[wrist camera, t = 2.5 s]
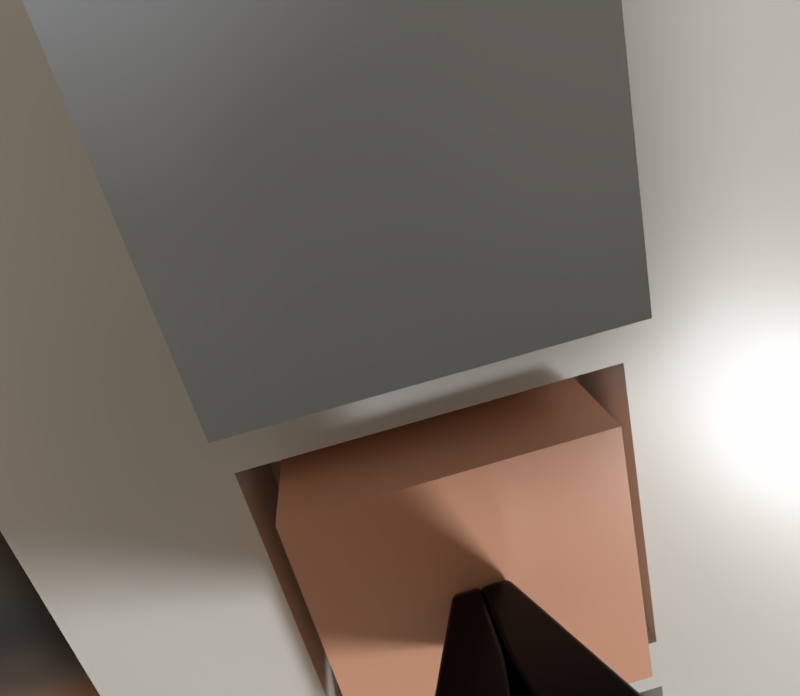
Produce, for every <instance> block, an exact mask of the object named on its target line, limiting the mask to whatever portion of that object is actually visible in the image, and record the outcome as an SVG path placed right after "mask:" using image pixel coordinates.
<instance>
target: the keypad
mask: <svg viewBox="0 0 800 696" xmlns="http://www.w3.org/2000/svg"><path fill="white" fill-rule="evenodd" d="M622 11H623V21H624V32H625V42H626V52H627V63H628V73H629V83H630V94H631V104H632V114H633V125H634V135H635V146H636V156H637V166H638V177H639V187H640V197H641V208H642V218H643V229H644V239H645V249H646V260H647V270H648V280H649V291H650V301H651V312H652V318H651V319H647V320H644V321H640V322H636V323H633V324H629V325H626V326H622V327H619V328H615V329H612V330H608V331H605V332H601V333H597V334H594V335H590V336H587V337H583V338H580V339H576V340H573V341H569V342H566V343H562V344H558V345H555V346H551V347H548V348H544V349H541V350H537V351H534V352H530V353H527V354H523V355H519V356H516V357H512V358H509V359H505V360H502V361H498V362H495V363H491V364H488V365H484V366H480V367H477V368H473V369H470V370H466V371H463V372H459V373H456V374H452V375H449V376H445V377H441V378H438V379H434V380H431V381H427V382H424V383H420V384H417V385H413V386H410V387H406V388H402V389H399V390H395V391H392V392H388V393H385V394H381V395H378V396H374V397H371V398H367V399H363V400H360V401H356V402H353V403H349V404H346V405H342V406H339V407H335V408H331V409H328V410H324V411H321V412H317V413H314V414H310V415H307V416H303V417H300V418H296V419H292V420H289V421H285V422H282V423H278V424H275V425H271V426H268V427H264V428H261V429H257V430H253V431H250V432H246V433H243V434H239V435H236V436H232V437H229V438H225V439H222V440H218V441H214V442H211V443H208V441H207V439H206V436H205V434H204V432H203V429H202V427H201V424H200V422H199V420H198V417H197V415H196V413H195V410H194V408H193V405H192V403H191V401H190V398H189V396H188V394H187V391H186V389H185V386H184V384H183V382H182V379H181V377H180V375H179V372H178V370H177V367H176V365H175V363H174V360H173V358H172V356H171V353H170V351H169V348H168V346H167V344H166V341H165V339H164V337H163V334H162V332H161V329H160V327H159V325H158V322H157V320H156V317H155V315H154V313H153V310H152V308H151V306H150V303H149V301H148V298H147V296H146V294H145V291H144V289H143V287H142V284H141V282H140V279H139V277H138V275H137V272H136V270H135V268H134V265H133V263H132V260H131V258H130V256H129V253H128V251H127V249H126V246H125V244H124V241H123V239H122V237H121V234H120V232H119V230H118V227H117V225H116V222H115V220H114V218H113V215H112V213H111V210H110V208H109V206H108V203H107V201H106V199H105V196H104V194H103V191H102V189H101V187H100V184H99V182H98V180H97V177H96V175H95V172H94V170H93V168H92V165H91V163H90V161H89V158H88V156H87V153H86V151H85V149H84V146H83V144H82V142H81V139H80V137H79V134H78V132H77V130H76V127H75V125H74V123H73V120H72V118H71V115H70V113H69V111H68V108H67V106H66V104H65V101H64V99H63V96H62V94H61V92H60V89H59V87H58V84H57V82H56V80H55V77H54V75H53V73H52V70H51V68H50V65H49V63H48V61H47V58H46V56H45V54H44V51H43V49H42V46H41V44H40V42H39V39H38V37H37V35H36V32H35V30H34V27H33V25H32V23H31V20H30V18H29V16H28V13H27V11H26V8H25V6H24V4H23V1H22V0H0V531H1V533H2V535H3V536H4V538H5V540H6V541H7V543H8V545H9V546H10V548H11V549H12V551H13V553H14V554H15V556H16V558H17V559H18V561H19V563H20V564H21V566H22V568H23V569H24V571H25V573H26V574H27V576H28V578H29V579H30V581H31V582H32V584H33V586H34V587H35V589H36V591H37V592H38V594H39V596H40V597H41V599H42V601H43V602H44V604H45V606H46V607H47V609H48V611H49V612H50V614H51V615H52V617H53V619H54V620H55V622H56V624H57V625H58V627H59V629H60V630H61V632H62V634H63V635H64V637H65V639H66V640H67V642H68V643H69V645H70V647H71V648H72V650H73V652H74V653H75V655H76V657H77V658H78V660H79V662H80V663H81V665H82V667H83V668H84V670H85V672H86V673H87V675H88V676H89V678H90V680H91V681H92V683H93V685H94V686H95V688H96V690H97V691H98V693H99V695H100V696H343V695H342V693H341V690H340V688H339V685H338V683H337V680H336V678H335V675H334V673H333V670H332V668H331V665H330V662H329V660H328V657H327V655H326V652H325V650H324V647H323V645H322V642H321V640H320V637H319V635H318V632H317V630H316V627H315V625H314V622H313V620H312V617H311V615H310V612H309V609H308V607H307V604H306V602H305V599H304V597H303V594H302V592H301V589H300V587H299V584H298V582H297V579H296V577H295V574H294V572H293V569H292V567H291V564H290V562H289V559H288V556H287V554H286V551H285V549H284V546H283V544H282V541H281V539H280V536H279V534H278V531H277V529H276V526H275V524H276V513H277V502H278V491H279V480H280V469H281V460H283V459H286V458H290V457H293V456H297V455H300V454H304V453H307V452H311V451H315V450H318V449H322V448H325V447H329V446H332V445H336V444H339V443H343V442H346V441H350V440H353V439H357V438H360V437H364V436H367V435H371V434H374V433H378V432H381V431H385V430H389V429H392V428H396V427H399V426H403V425H406V424H410V423H413V422H417V421H420V420H424V419H427V418H431V417H434V416H438V415H441V414H445V413H448V412H452V411H455V410H459V409H462V408H466V407H470V406H473V405H477V404H480V403H484V402H487V401H491V400H494V399H498V398H501V397H505V396H508V395H512V394H515V393H519V392H522V391H526V390H529V389H533V388H536V387H540V386H543V385H547V384H551V383H554V382H558V381H561V380H565V379H568V378H572V377H574V378H575V379H576V380H577V381H578V383H579V384H580V385H581V386H582V387H583V388H584V389H585V390H586V391H587V392H588V393H589V394H590V395H591V396H592V397H593V398H594V399H595V400H596V401H597V402H598V403H599V404H600V405H601V406H602V407H603V408H604V409H605V410H606V411H607V412H608V413H609V414H610V415H611V416H612V417H613V418H614V419H615V420H616V421H617V422H618V423H619V424H620V425H621V428H622V436H623V443H624V451H625V459H626V467H627V475H628V483H629V491H630V499H631V507H632V515H633V523H634V531H635V539H636V547H637V555H638V563H639V571H640V579H641V587H642V595H643V603H644V611H645V619H646V627H647V635H648V643H649V651H650V659H651V667H652V675H653V677H649V678H646V679H643V680H639V681H636V682H633V683H629V684H630V685H631V686H632V687H633V688H634V689H635V690H636V691H638V692H639V693H640V694H641V695H642V696H800V0H622Z"/></svg>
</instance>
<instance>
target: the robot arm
mask: <svg viewBox="0 0 800 696" xmlns="http://www.w3.org/2000/svg"><path fill="white" fill-rule="evenodd" d="M435 696H642V695H641V694H640V693H639V692H638V691H636V690H635V689H634V688H633V687H632V686H631V685H630V684H628V683H627V682H626V681H625V680H624V679H623V678H622V677H620V676H619V675H618V674H617V673H616V672H615V671H613V670H612V669H611V668H610V667H609V666H608V665H607V664H605V663H604V662H603V661H602V660H601V659H600V658H599V657H597V656H596V655H595V654H594V653H593V652H592V651H590V650H589V649H588V648H587V647H586V646H585V645H584V644H582V643H581V642H580V641H579V640H578V639H577V638H576V637H574V636H573V635H572V634H571V633H570V632H569V631H567V630H566V629H565V628H564V627H563V626H562V625H561V624H559V623H558V622H557V621H556V620H555V619H554V618H553V617H551V616H550V615H549V614H548V613H547V612H546V611H545V610H543V609H542V608H541V607H540V606H539V605H538V604H536V603H535V602H534V601H533V600H532V599H531V598H530V597H528V596H527V595H526V594H525V593H524V592H523V591H522V590H520V589H519V588H518V587H517V586H516V585H515V584H513V583H512V582H511V581H509V580H503V581H500V582H496V583H493V584H490V585H486V586H484V587H483V589H482V592H481V591H480V590H479V589H473V590H469V591H466V592H462V593H459V594H456V595H454V596H453V598H452V601H451V606H450V612H449V618H448V623H447V629H446V635H445V640H444V646H443V651H442V657H441V663H440V668H439V674H438V680H437V685H436V691H435Z"/></svg>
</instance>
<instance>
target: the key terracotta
mask: <svg viewBox="0 0 800 696" xmlns="http://www.w3.org/2000/svg"><path fill="white" fill-rule="evenodd" d="M275 526H276V529H277V531H278V534H279V536H280V539H281V541H282V544H283V546H284V549H285V551H286V554H287V556H288V559H289V562H290V564H291V567H292V569H293V572H294V574H295V577H296V579H297V582H298V584H299V587H300V589H301V592H302V594H303V597H304V599H305V602H306V604H307V607H308V609H309V612H310V615H311V617H312V620H313V622H314V625H315V627H316V630H317V632H318V635H319V637H320V640H321V642H322V645H323V647H324V650H325V652H326V655H327V657H328V660H329V662H330V665H331V668H332V670H333V673H334V675H335V678H336V680H337V683H338V685H339V688H340V690H341V693H342V695H343V696H435V691H436V685H437V680H438V674H439V668H440V663H441V657H442V651H443V646H444V640H445V635H446V629H447V623H448V618H449V612H450V606H451V601H452V598H453V596H454V595H456V594H459V593H462V592H466V591H469V590H473V589H479V590H480V591H481V592H482V589H483V587H484V586H486V585H490V584H493V583H496V582H500V581H503V580H509V581H511V582H512V583H513V584H515V585H516V586H517V587H518V588H519V589H520V590H522V591H523V592H524V593H525V594H526V595H527V596H528V597H530V598H531V599H532V600H533V601H534V602H535V603H536V604H538V605H539V606H540V607H541V608H542V609H543V610H545V611H546V612H547V613H548V614H549V615H550V616H551V617H553V618H554V619H555V620H556V621H557V622H558V623H559V624H561V625H562V626H563V627H564V628H565V629H566V630H567V631H569V632H570V633H571V634H572V635H573V636H574V637H576V638H577V639H578V640H579V641H580V642H581V643H582V644H584V645H585V646H586V647H587V648H588V649H589V650H590V651H592V652H593V653H594V654H595V655H596V656H597V657H599V658H600V659H601V660H602V661H603V662H604V663H605V664H607V665H608V666H609V667H610V668H611V669H612V670H613V671H615V672H616V673H617V674H618V675H619V676H620V677H622V678H623V679H624V680H625V681H626V682H627V683H628V684H629V683H633V682H636V681H639V680H643V679H646V678H649V677H653V675H652V667H651V659H650V651H649V643H648V635H647V627H646V619H645V611H644V603H643V595H642V587H641V579H640V571H639V563H638V555H637V547H636V539H635V531H634V523H633V515H632V507H631V499H630V491H629V483H628V475H627V467H626V459H625V451H624V443H623V436H622V428H621V425H620V424H619V423H618V422H617V421H616V420H615V419H614V418H613V417H612V416H611V415H610V414H609V413H608V412H607V411H606V410H605V409H604V408H603V407H602V406H601V405H600V404H599V403H598V402H597V401H596V400H595V399H594V398H593V397H592V396H591V395H590V394H589V393H588V392H587V391H586V390H585V389H584V388H583V387H582V386H581V385H580V384H579V383H578V381H577V380H576V379H575V378H574V377H572V378H568V379H565V380H561V381H558V382H554V383H551V384H547V385H543V386H540V387H536V388H533V389H529V390H526V391H522V392H519V393H515V394H512V395H508V396H505V397H501V398H498V399H494V400H491V401H487V402H484V403H480V404H477V405H473V406H470V407H466V408H462V409H459V410H455V411H452V412H448V413H445V414H441V415H438V416H434V417H431V418H427V419H424V420H420V421H417V422H413V423H410V424H406V425H403V426H399V427H396V428H392V429H389V430H385V431H381V432H378V433H374V434H371V435H367V436H364V437H360V438H357V439H353V440H350V441H346V442H343V443H339V444H336V445H332V446H329V447H325V448H322V449H318V450H315V451H311V452H307V453H304V454H300V455H297V456H293V457H290V458H286V459H283V460H281V469H280V480H279V491H278V502H277V513H276V524H275Z"/></svg>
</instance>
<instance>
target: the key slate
mask: <svg viewBox="0 0 800 696" xmlns="http://www.w3.org/2000/svg"><path fill="white" fill-rule="evenodd" d="M22 1H23V4H24V6H25V8H26V11H27V13H28V16H29V18H30V20H31V23H32V25H33V27H34V30H35V32H36V35H37V37H38V39H39V42H40V44H41V46H42V49H43V51H44V54H45V56H46V58H47V61H48V63H49V65H50V68H51V70H52V73H53V75H54V77H55V80H56V82H57V84H58V87H59V89H60V92H61V94H62V96H63V99H64V101H65V104H66V106H67V108H68V111H69V113H70V115H71V118H72V120H73V123H74V125H75V127H76V130H77V132H78V134H79V137H80V139H81V142H82V144H83V146H84V149H85V151H86V153H87V156H88V158H89V161H90V163H91V165H92V168H93V170H94V172H95V175H96V177H97V180H98V182H99V184H100V187H101V189H102V191H103V194H104V196H105V199H106V201H107V203H108V206H109V208H110V210H111V213H112V215H113V218H114V220H115V222H116V225H117V227H118V230H119V232H120V234H121V237H122V239H123V241H124V244H125V246H126V249H127V251H128V253H129V256H130V258H131V260H132V263H133V265H134V268H135V270H136V272H137V275H138V277H139V279H140V282H141V284H142V287H143V289H144V291H145V294H146V296H147V298H148V301H149V303H150V306H151V308H152V310H153V313H154V315H155V317H156V320H157V322H158V325H159V327H160V329H161V332H162V334H163V337H164V339H165V341H166V344H167V346H168V348H169V351H170V353H171V356H172V358H173V360H174V363H175V365H176V367H177V370H178V372H179V375H180V377H181V379H182V382H183V384H184V386H185V389H186V391H187V394H188V396H189V398H190V401H191V403H192V405H193V408H194V410H195V413H196V415H197V417H198V420H199V422H200V424H201V427H202V429H203V432H204V434H205V436H206V439H207V441H208V443H211V442H214V441H218V440H222V439H225V438H229V437H232V436H236V435H239V434H243V433H246V432H250V431H253V430H257V429H261V428H264V427H268V426H271V425H275V424H278V423H282V422H285V421H289V420H292V419H296V418H300V417H303V416H307V415H310V414H314V413H317V412H321V411H324V410H328V409H331V408H335V407H339V406H342V405H346V404H349V403H353V402H356V401H360V400H363V399H367V398H371V397H374V396H378V395H381V394H385V393H388V392H392V391H395V390H399V389H402V388H406V387H410V386H413V385H417V384H420V383H424V382H427V381H431V380H434V379H438V378H441V377H445V376H449V375H452V374H456V373H459V372H463V371H466V370H470V369H473V368H477V367H480V366H484V365H488V364H491V363H495V362H498V361H502V360H505V359H509V358H512V357H516V356H519V355H523V354H527V353H530V352H534V351H537V350H541V349H544V348H548V347H551V346H555V345H558V344H562V343H566V342H569V341H573V340H576V339H580V338H583V337H587V336H590V335H594V334H597V333H601V332H605V331H608V330H612V329H615V328H619V327H622V326H626V325H629V324H633V323H636V322H640V321H644V320H647V319H651V318H652V312H651V301H650V291H649V280H648V270H647V260H646V249H645V239H644V229H643V218H642V208H641V197H640V187H639V177H638V166H637V156H636V146H635V135H634V125H633V114H632V104H631V94H630V83H629V73H628V63H627V52H626V42H625V32H624V21H623V11H622V0H22Z"/></svg>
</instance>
